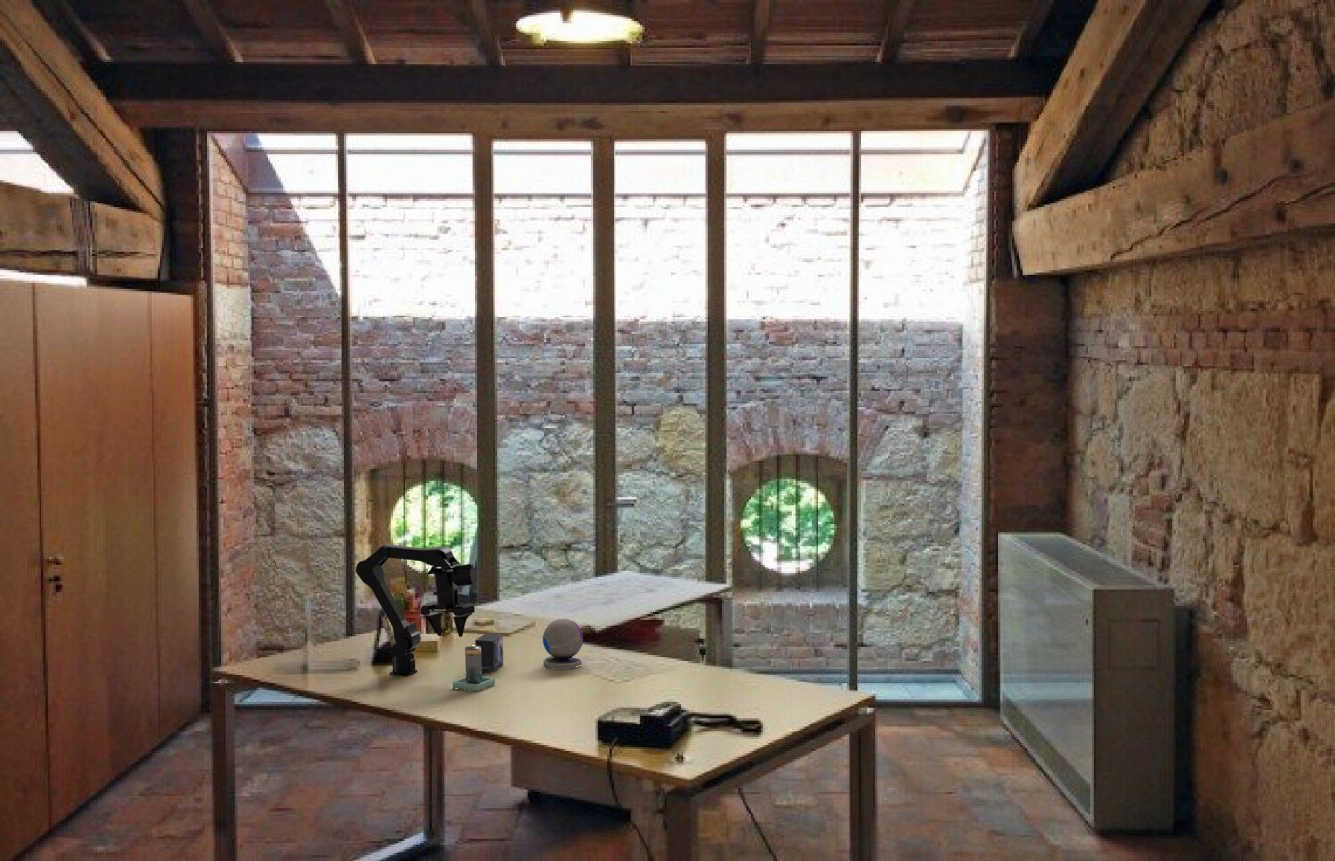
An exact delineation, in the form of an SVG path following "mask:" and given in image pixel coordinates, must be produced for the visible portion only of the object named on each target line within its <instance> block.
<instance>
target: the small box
mask: <svg viewBox="0 0 1335 861" xmlns="http://www.w3.org/2000/svg"><path fill="white" fill-rule="evenodd" d="M474 645H476V646H480V647H481V668H482V673H490V672H493V673H495V672H496V671H498V668H499V669H500V668H501V667H503V666H504V634H502V633H490V632H489V633H488V632H485V633H484V634H482V635H481V636H478V638H476V639H475V640H474ZM502 665H503V666H502Z"/></svg>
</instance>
